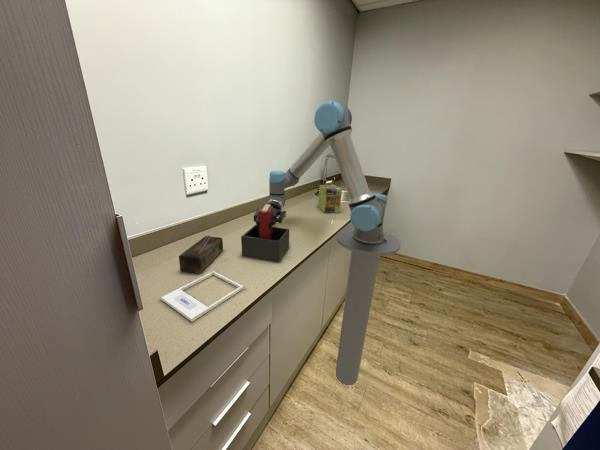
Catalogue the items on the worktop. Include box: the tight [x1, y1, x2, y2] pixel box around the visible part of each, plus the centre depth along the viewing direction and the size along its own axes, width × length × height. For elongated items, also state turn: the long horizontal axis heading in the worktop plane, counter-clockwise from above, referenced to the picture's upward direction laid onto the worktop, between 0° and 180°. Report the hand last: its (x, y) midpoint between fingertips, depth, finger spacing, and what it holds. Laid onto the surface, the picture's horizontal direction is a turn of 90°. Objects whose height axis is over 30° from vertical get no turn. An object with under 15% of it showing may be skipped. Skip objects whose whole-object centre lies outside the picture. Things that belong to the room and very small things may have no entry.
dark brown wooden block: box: [178, 235, 224, 274], centre depth 91 cm, size 8×19×7 cm, turn 173°
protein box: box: [317, 183, 343, 214], centre depth 160 cm, size 10×15×16 cm
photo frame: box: [160, 270, 244, 323], centre depth 73 cm, size 15×1×18 cm
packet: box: [259, 203, 274, 240], centre depth 97 cm, size 4×8×13 cm, turn 176°
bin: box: [240, 224, 290, 263], centre depth 100 cm, size 16×14×9 cm
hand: (263, 226), depth 91 cm, fingers closed on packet, 4 cm apart
